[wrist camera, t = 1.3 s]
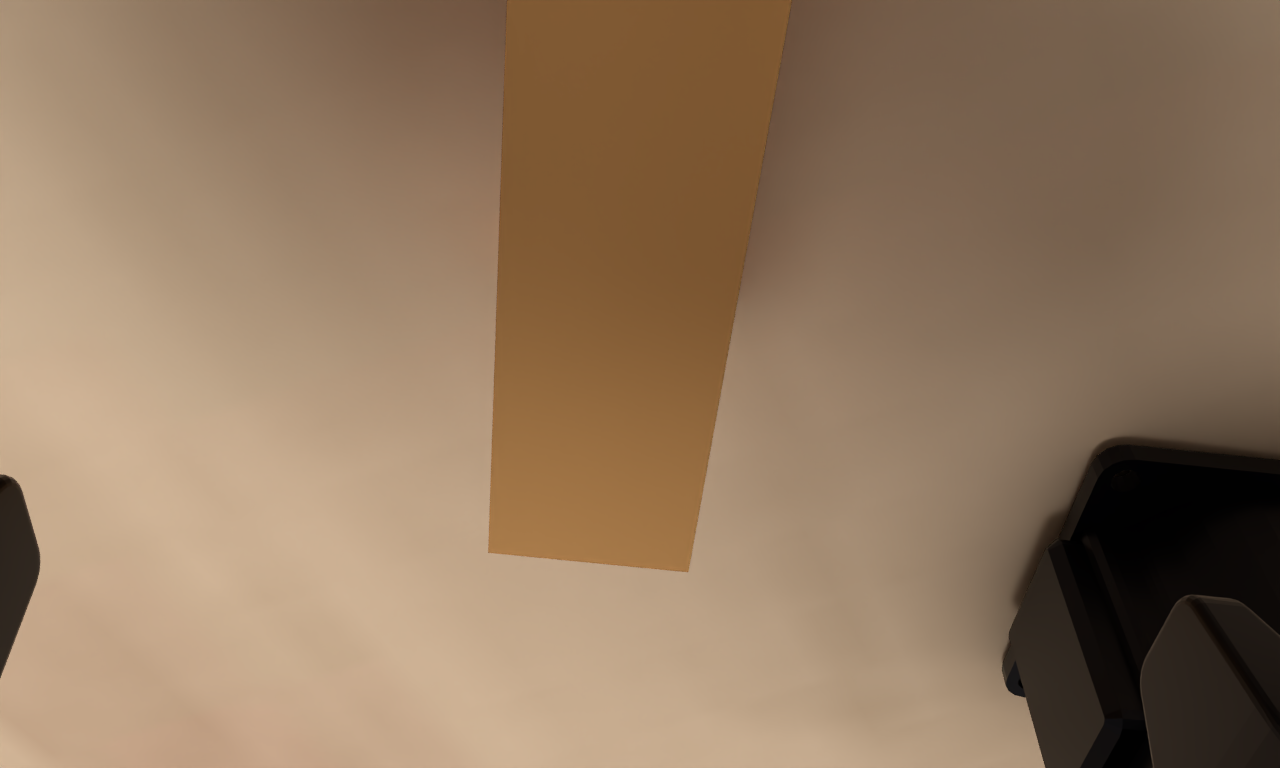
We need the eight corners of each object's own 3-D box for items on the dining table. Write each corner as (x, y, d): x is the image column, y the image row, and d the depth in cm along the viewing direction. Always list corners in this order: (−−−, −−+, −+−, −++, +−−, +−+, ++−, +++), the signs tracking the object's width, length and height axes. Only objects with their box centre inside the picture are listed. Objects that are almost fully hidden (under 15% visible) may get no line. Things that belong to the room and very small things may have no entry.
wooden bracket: (770, -226, 15) (808, -91, 10) (689, 307, 19) (688, 571, 15) (570, -250, 15) (511, -126, 10) (538, 291, 19) (488, 552, 15)
